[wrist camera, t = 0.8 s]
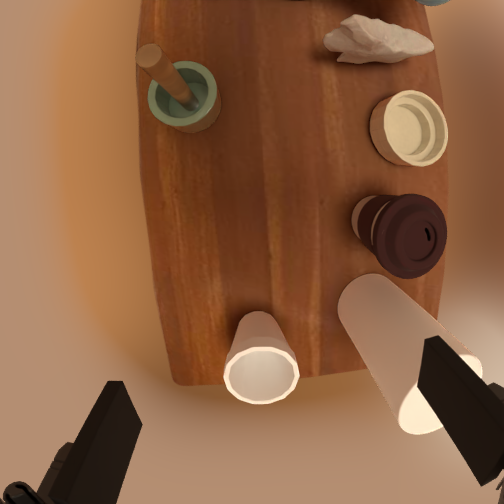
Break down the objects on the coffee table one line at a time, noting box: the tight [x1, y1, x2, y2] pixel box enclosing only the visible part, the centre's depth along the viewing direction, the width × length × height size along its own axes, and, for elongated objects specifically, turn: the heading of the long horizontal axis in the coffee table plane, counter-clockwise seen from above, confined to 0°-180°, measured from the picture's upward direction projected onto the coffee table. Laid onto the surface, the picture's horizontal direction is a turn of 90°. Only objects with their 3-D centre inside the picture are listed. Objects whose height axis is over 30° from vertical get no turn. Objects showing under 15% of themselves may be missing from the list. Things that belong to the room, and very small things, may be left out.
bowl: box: [370, 90, 448, 166], centre depth 40 cm, size 11×11×6 cm
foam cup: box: [223, 311, 299, 404], centre depth 44 cm, size 10×9×13 cm
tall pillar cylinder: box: [338, 274, 483, 434], centre depth 37 cm, size 11×11×25 cm
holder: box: [148, 61, 222, 133], centre depth 37 cm, size 8×8×8 cm
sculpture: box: [323, 14, 434, 64], centre depth 32 cm, size 17×5×15 cm, turn 103°
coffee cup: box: [351, 194, 447, 279], centre depth 39 cm, size 10×10×15 cm
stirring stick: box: [135, 43, 199, 111], centre depth 30 cm, size 2×2×21 cm
